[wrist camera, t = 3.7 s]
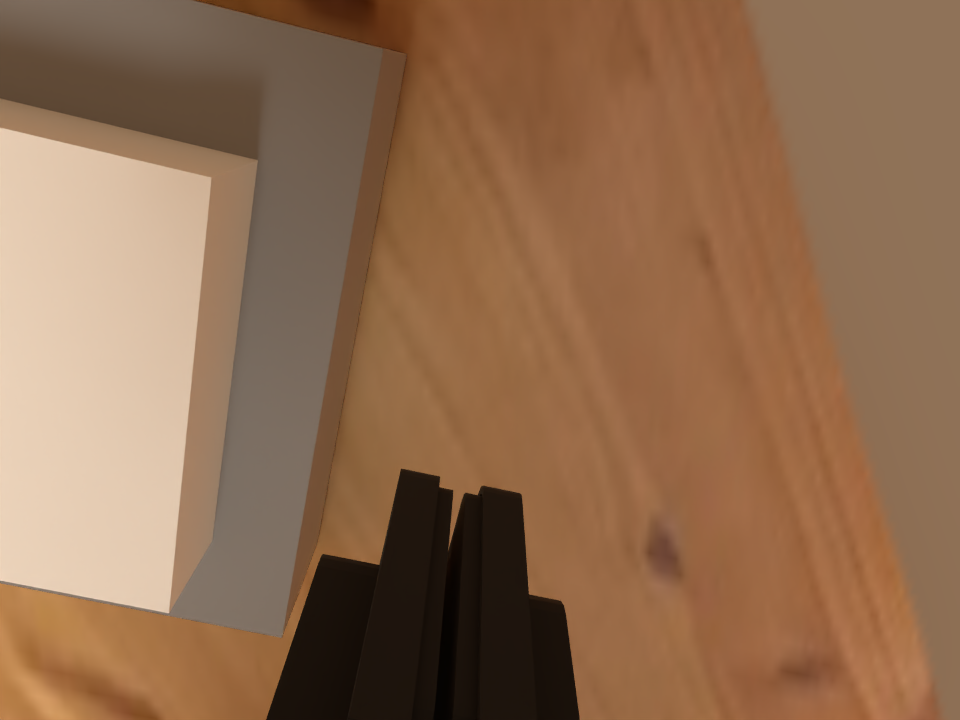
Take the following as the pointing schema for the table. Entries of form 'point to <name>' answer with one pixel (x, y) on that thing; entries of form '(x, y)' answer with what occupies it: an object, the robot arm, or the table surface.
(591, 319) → the table surface
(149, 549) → the tile
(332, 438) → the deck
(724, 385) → the table surface
